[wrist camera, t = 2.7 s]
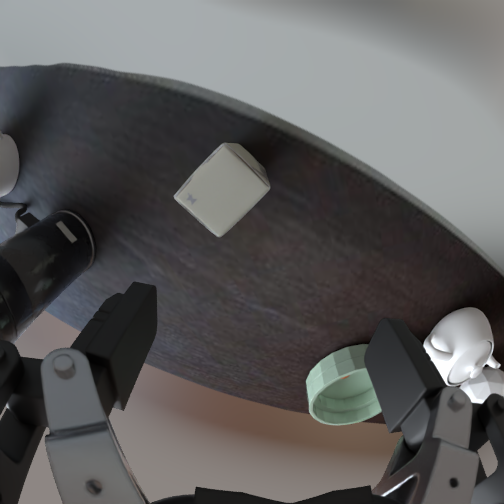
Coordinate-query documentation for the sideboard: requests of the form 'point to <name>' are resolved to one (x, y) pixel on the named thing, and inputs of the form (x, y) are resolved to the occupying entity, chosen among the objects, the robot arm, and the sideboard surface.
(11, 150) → the mug
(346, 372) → the bowl
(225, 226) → the box
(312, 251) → the sideboard surface
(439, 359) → the teapot
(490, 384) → the geometric shape
